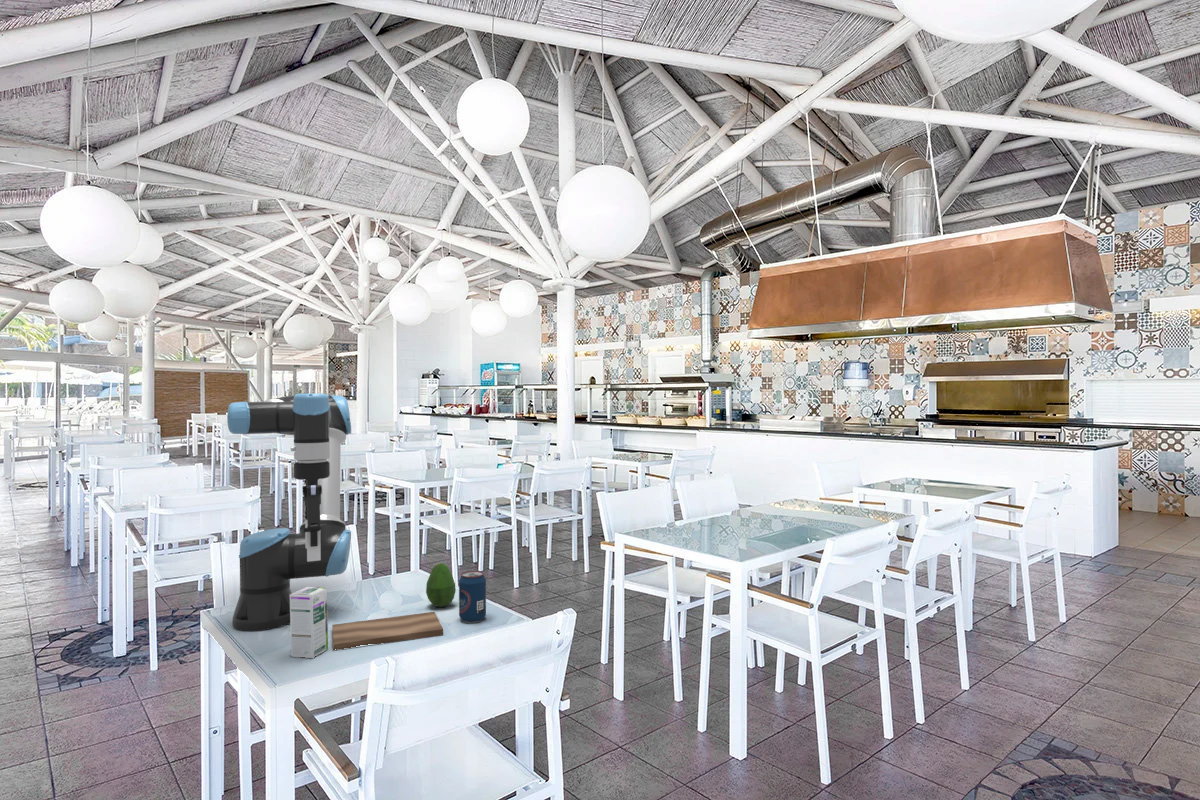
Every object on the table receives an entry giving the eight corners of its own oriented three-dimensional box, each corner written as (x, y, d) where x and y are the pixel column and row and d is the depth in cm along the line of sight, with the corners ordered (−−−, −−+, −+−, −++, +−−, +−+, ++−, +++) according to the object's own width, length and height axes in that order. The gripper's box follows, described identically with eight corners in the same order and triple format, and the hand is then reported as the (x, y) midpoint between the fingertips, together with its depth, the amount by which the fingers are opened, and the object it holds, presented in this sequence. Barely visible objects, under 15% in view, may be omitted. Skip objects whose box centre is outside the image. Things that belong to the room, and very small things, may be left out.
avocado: (443, 600, 190) (443, 558, 190) (461, 605, 185) (460, 562, 185) (420, 607, 184) (419, 563, 184) (437, 613, 179) (437, 568, 179)
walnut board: (332, 630, 166) (332, 624, 166) (434, 617, 175) (434, 611, 175) (333, 650, 153) (333, 644, 153) (443, 635, 162) (443, 628, 162)
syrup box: (313, 659, 148) (312, 594, 148) (289, 657, 149) (289, 593, 149) (328, 649, 154) (328, 587, 153) (305, 647, 155) (305, 585, 155)
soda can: (453, 619, 174) (453, 573, 174) (476, 613, 179) (475, 568, 179) (469, 625, 169) (468, 578, 169) (491, 619, 174) (491, 573, 174)
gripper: (293, 456, 161) (294, 544, 161) (294, 467, 138) (295, 568, 139) (326, 455, 164) (327, 541, 164) (333, 465, 142) (334, 564, 142)
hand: (312, 553), depth 152 cm, fingers open, 13 cm apart
